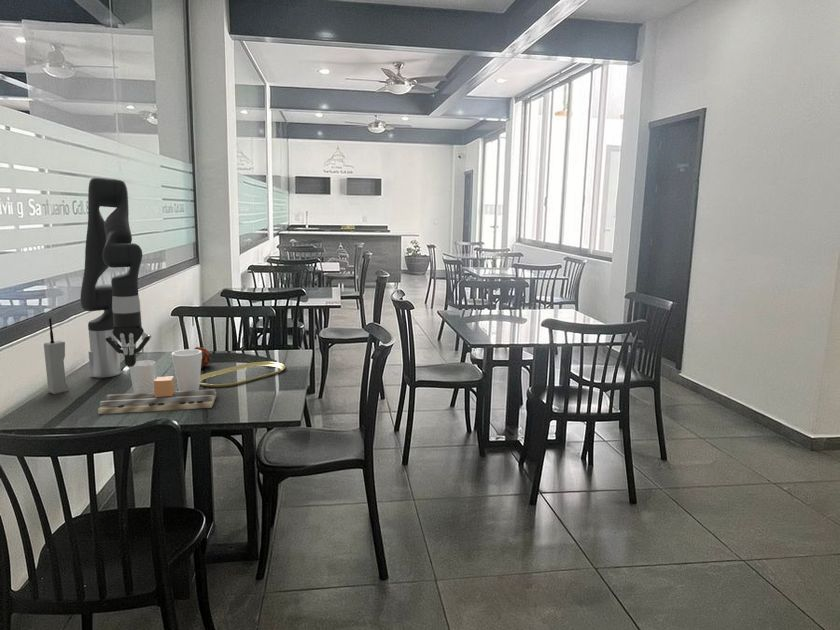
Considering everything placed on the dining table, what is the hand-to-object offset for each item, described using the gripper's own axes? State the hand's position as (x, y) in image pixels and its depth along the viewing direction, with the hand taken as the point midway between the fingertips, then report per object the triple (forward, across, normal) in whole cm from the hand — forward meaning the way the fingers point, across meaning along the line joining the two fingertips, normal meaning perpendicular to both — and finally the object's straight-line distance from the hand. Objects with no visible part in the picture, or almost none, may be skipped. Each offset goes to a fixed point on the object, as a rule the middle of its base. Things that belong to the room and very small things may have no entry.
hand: (130, 366), depth 183 cm
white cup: (+13, 0, -15) cm, 20 cm away
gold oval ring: (+14, -30, -31) cm, 45 cm away
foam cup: (+13, -14, -15) cm, 24 cm away
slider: (+11, -9, 0) cm, 14 cm away
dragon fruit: (+14, -12, -47) cm, 50 cm away
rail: (+13, -8, 0) cm, 15 cm away
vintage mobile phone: (+13, +28, -21) cm, 38 cm away
